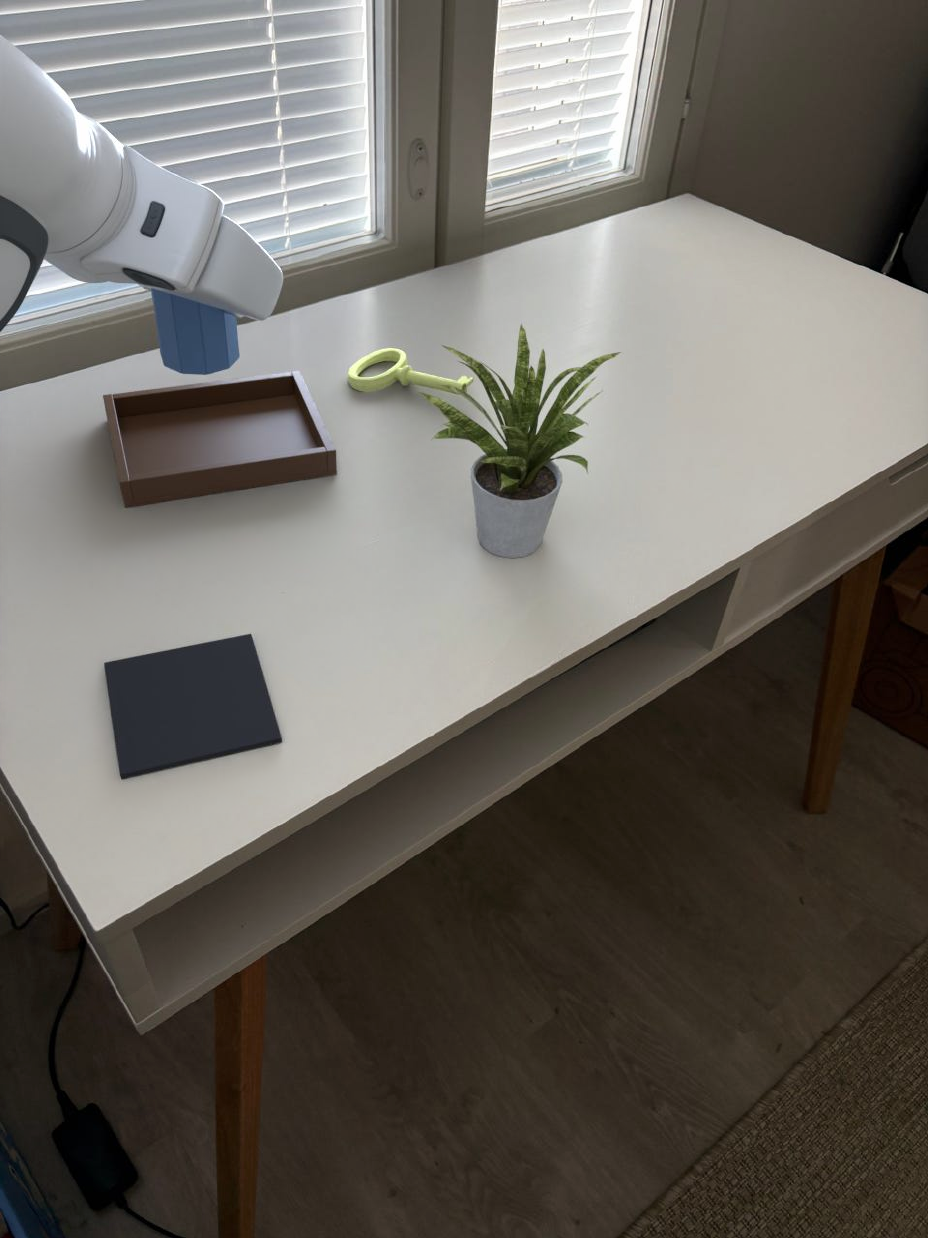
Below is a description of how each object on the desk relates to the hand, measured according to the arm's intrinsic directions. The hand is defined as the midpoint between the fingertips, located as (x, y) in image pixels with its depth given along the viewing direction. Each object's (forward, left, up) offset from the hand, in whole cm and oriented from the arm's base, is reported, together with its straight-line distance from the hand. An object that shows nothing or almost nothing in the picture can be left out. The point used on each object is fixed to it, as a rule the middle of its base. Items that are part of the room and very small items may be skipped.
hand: (198, 294), depth 79 cm
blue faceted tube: (-1, 0, -5) cm, 5 cm away
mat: (-7, -29, -14) cm, 33 cm away
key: (+19, +6, -14) cm, 25 cm away
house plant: (+21, -18, -14) cm, 31 cm away
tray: (0, 0, -14) cm, 14 cm away
